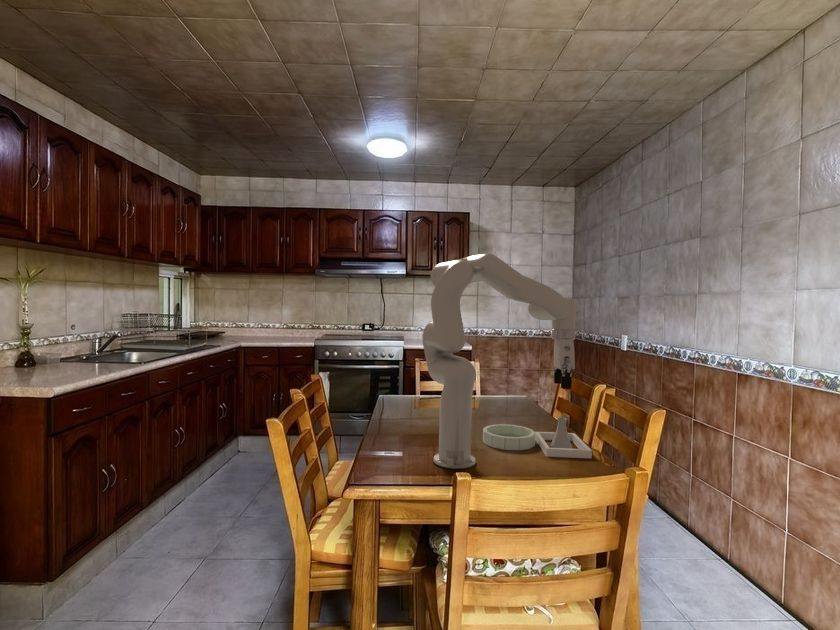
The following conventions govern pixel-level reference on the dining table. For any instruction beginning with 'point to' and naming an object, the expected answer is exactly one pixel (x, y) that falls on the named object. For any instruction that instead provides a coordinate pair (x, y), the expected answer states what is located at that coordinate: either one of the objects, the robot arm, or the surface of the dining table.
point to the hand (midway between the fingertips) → (562, 385)
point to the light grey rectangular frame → (563, 452)
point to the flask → (561, 435)
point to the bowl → (508, 437)
